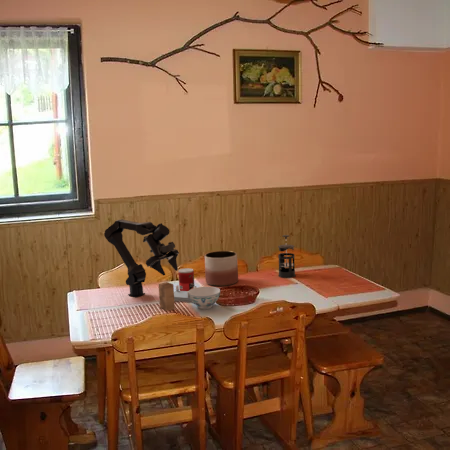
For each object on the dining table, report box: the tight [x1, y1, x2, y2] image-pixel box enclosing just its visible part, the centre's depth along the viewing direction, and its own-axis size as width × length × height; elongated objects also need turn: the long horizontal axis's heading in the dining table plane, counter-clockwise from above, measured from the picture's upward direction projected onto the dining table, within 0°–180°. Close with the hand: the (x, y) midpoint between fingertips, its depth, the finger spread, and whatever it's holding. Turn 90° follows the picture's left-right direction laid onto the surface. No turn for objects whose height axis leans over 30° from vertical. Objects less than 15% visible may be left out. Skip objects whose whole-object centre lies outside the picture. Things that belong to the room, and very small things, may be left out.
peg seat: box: [174, 284, 197, 303], centre depth 277 cm, size 12×10×5 cm
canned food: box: [177, 267, 195, 291], centre depth 289 cm, size 8×8×11 cm
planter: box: [204, 250, 239, 287], centre depth 301 cm, size 18×18×16 cm
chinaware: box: [188, 286, 221, 310], centre depth 262 cm, size 15×15×8 cm
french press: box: [277, 234, 296, 279], centre depth 308 cm, size 12×9×23 cm
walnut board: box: [158, 281, 176, 312], centre depth 261 cm, size 6×4×12 cm
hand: (170, 272), depth 269 cm, fingers open, 9 cm apart
